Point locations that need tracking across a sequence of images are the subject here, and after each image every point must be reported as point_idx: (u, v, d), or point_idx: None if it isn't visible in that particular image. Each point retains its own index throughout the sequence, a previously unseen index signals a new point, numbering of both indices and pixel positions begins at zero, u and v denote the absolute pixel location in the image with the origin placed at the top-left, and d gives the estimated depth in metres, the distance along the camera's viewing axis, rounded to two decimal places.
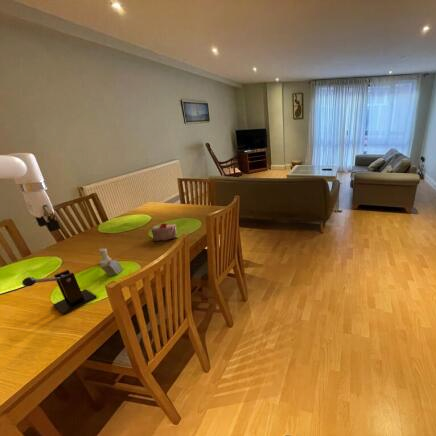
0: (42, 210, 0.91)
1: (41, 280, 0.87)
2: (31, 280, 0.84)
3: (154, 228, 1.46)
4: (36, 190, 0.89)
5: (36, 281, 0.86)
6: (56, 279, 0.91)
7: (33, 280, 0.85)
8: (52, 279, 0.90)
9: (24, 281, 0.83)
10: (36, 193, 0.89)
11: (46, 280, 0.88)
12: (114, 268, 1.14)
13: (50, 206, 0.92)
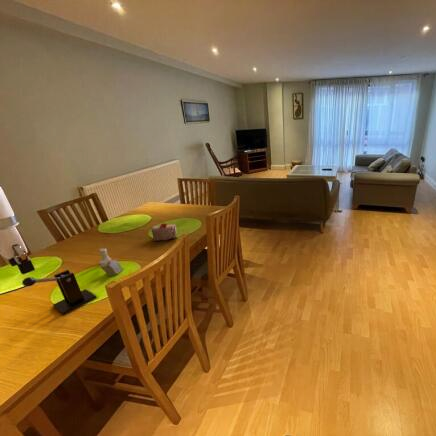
0: (12, 251, 0.76)
1: (41, 280, 0.87)
2: (31, 280, 0.84)
3: (154, 228, 1.46)
4: (4, 228, 0.75)
5: (36, 281, 0.86)
6: (56, 279, 0.91)
7: (33, 280, 0.85)
8: (52, 279, 0.90)
9: (24, 281, 0.83)
10: (4, 231, 0.74)
11: (46, 280, 0.88)
12: (114, 268, 1.14)
13: (22, 245, 0.78)
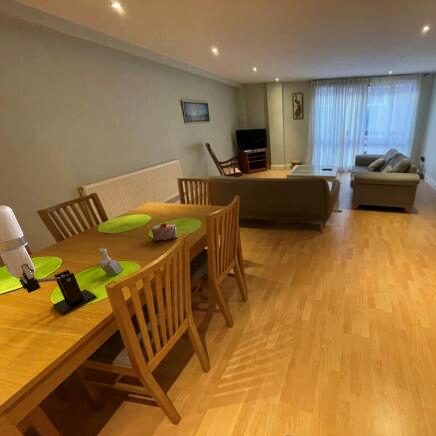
0: (21, 270, 0.79)
1: (41, 280, 0.87)
2: None
3: (154, 228, 1.46)
4: (13, 248, 0.77)
5: None
6: (56, 279, 0.91)
7: None
8: (52, 279, 0.90)
9: None
10: (13, 252, 0.77)
11: (46, 280, 0.88)
12: (114, 268, 1.14)
13: (30, 264, 0.81)
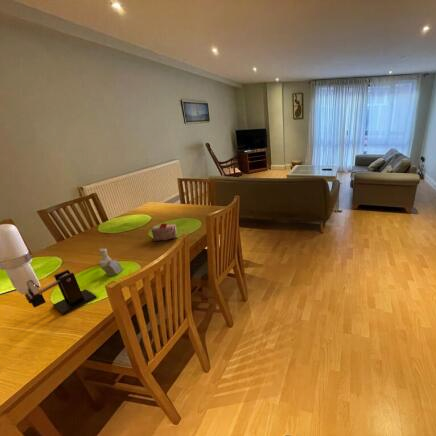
0: (26, 286, 0.81)
1: (43, 290, 0.88)
2: None
3: (154, 228, 1.46)
4: (19, 265, 0.79)
5: None
6: (57, 283, 0.91)
7: None
8: (53, 285, 0.90)
9: (27, 298, 0.85)
10: (19, 269, 0.79)
11: (48, 288, 0.89)
12: (114, 268, 1.14)
13: (35, 280, 0.82)
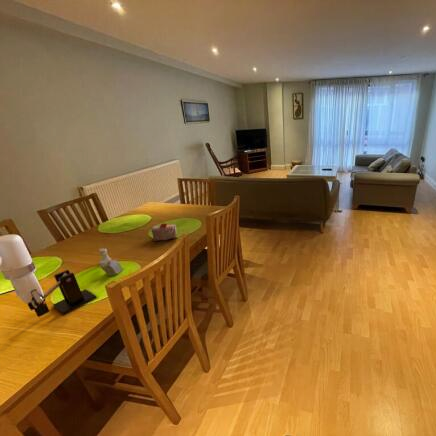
0: (30, 296, 0.82)
1: (47, 293, 0.89)
2: None
3: (154, 228, 1.46)
4: (23, 275, 0.80)
5: (44, 297, 0.89)
6: (59, 284, 0.92)
7: None
8: (55, 287, 0.91)
9: None
10: (23, 278, 0.80)
11: (51, 291, 0.90)
12: (114, 268, 1.14)
13: (39, 289, 0.84)
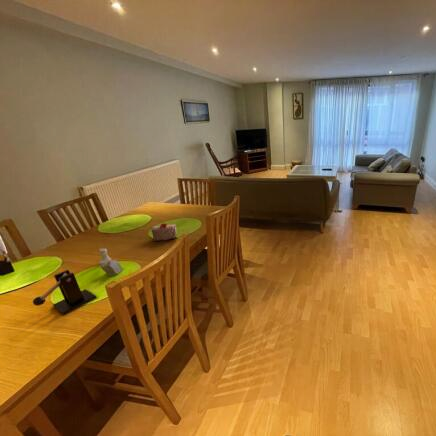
0: None
1: (47, 293, 0.89)
2: (38, 300, 0.87)
3: (154, 228, 1.46)
4: None
5: (44, 297, 0.89)
6: (59, 284, 0.92)
7: (40, 299, 0.87)
8: (55, 287, 0.91)
9: (34, 304, 0.87)
10: None
11: (51, 291, 0.90)
12: (114, 268, 1.14)
13: (1, 245, 0.75)
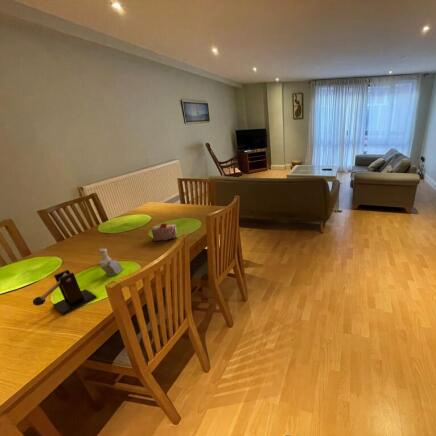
0: None
1: (47, 293, 0.89)
2: (38, 300, 0.87)
3: (154, 228, 1.46)
4: None
5: (44, 297, 0.89)
6: (59, 284, 0.92)
7: (40, 299, 0.87)
8: (55, 287, 0.91)
9: (34, 304, 0.87)
10: None
11: (51, 291, 0.90)
12: (114, 268, 1.14)
13: None
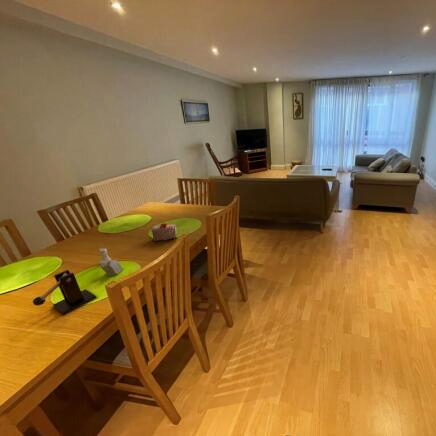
0: None
1: (47, 293, 0.89)
2: (38, 300, 0.87)
3: (154, 228, 1.46)
4: None
5: (44, 297, 0.89)
6: (59, 284, 0.92)
7: (40, 299, 0.87)
8: (55, 287, 0.91)
9: (34, 304, 0.87)
10: None
11: (51, 291, 0.90)
12: (114, 268, 1.14)
13: None
